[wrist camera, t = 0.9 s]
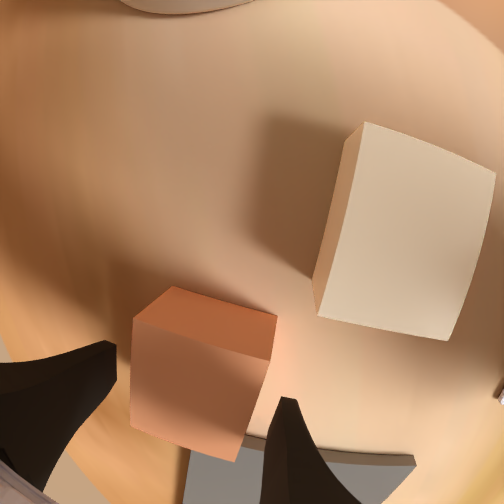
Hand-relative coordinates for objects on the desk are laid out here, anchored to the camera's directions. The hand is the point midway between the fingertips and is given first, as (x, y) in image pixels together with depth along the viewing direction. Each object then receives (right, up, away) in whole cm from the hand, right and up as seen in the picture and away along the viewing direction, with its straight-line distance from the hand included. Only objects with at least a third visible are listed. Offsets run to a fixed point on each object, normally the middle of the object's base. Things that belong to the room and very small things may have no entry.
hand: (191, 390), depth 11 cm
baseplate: (+5, -13, +5) cm, 14 cm away
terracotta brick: (0, +1, +3) cm, 3 cm away
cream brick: (+8, +7, +1) cm, 11 cm away
